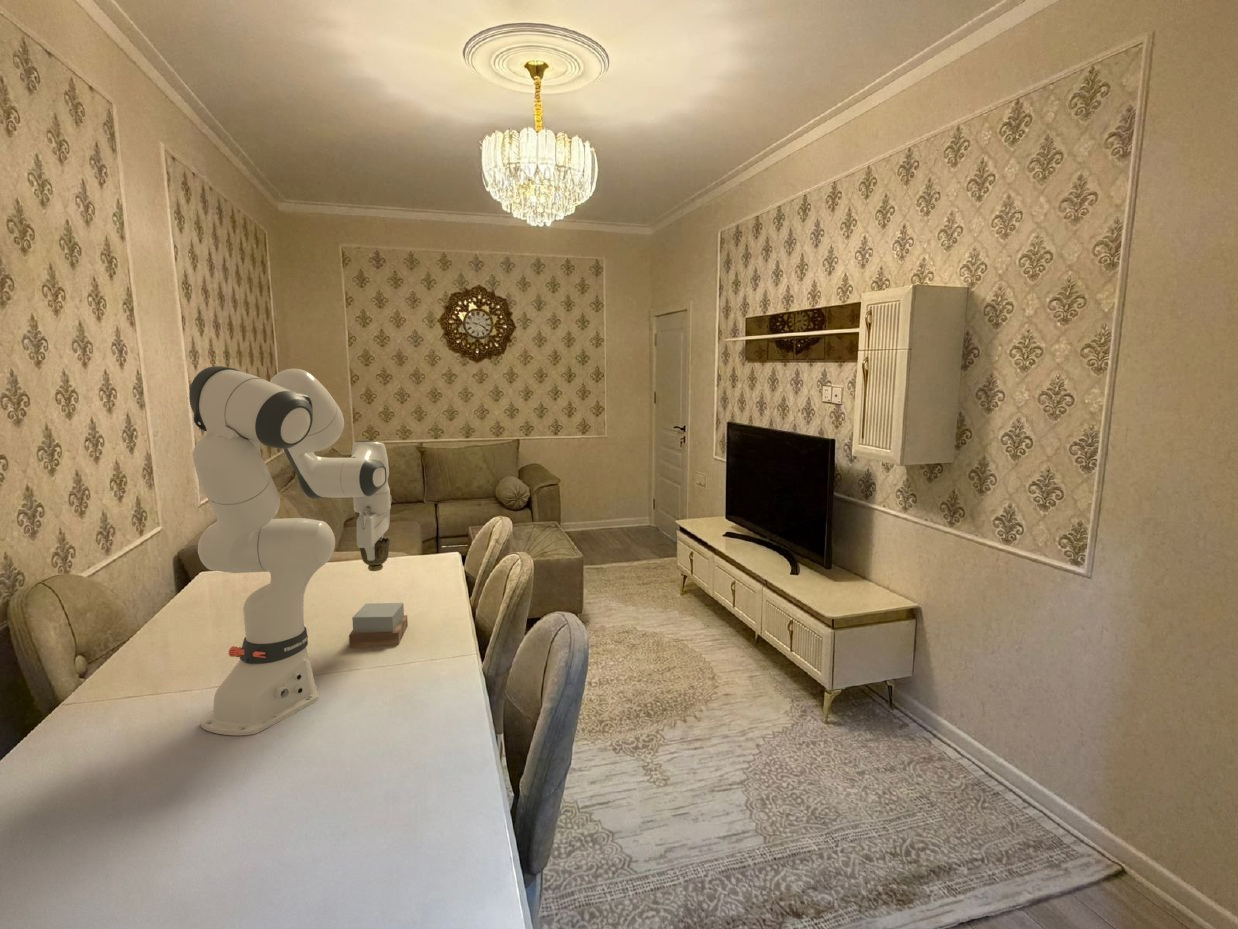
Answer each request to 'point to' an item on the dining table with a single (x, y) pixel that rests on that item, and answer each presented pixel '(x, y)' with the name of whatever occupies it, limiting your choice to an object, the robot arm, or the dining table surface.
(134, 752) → the dining table surface
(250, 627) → the robot arm
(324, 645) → the dining table surface
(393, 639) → the tower base
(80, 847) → the dining table surface
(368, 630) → the tower top
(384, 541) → the cup
